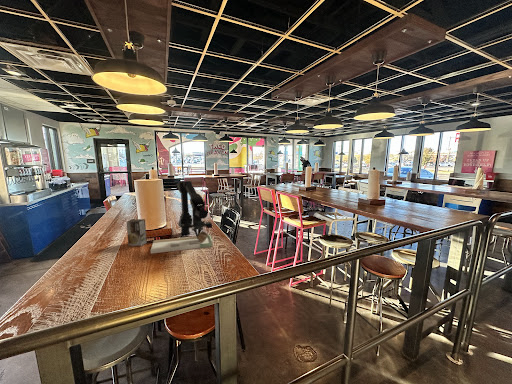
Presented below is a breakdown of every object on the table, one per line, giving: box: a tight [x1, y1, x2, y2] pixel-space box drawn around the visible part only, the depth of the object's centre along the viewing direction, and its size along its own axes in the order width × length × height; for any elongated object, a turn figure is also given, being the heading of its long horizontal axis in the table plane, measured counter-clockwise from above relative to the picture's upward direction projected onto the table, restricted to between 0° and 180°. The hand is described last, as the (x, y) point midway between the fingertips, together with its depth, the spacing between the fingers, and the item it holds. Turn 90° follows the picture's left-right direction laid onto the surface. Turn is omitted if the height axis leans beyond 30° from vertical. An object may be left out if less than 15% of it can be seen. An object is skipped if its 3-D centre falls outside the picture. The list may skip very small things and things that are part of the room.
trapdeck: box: [150, 234, 213, 255], centre depth 135 cm, size 12×36×4 cm, turn 109°
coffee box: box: [126, 218, 148, 247], centre depth 137 cm, size 9×6×16 cm
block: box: [197, 230, 209, 242], centre depth 137 cm, size 4×4×4 cm
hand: (197, 238), depth 140 cm, fingers closed
